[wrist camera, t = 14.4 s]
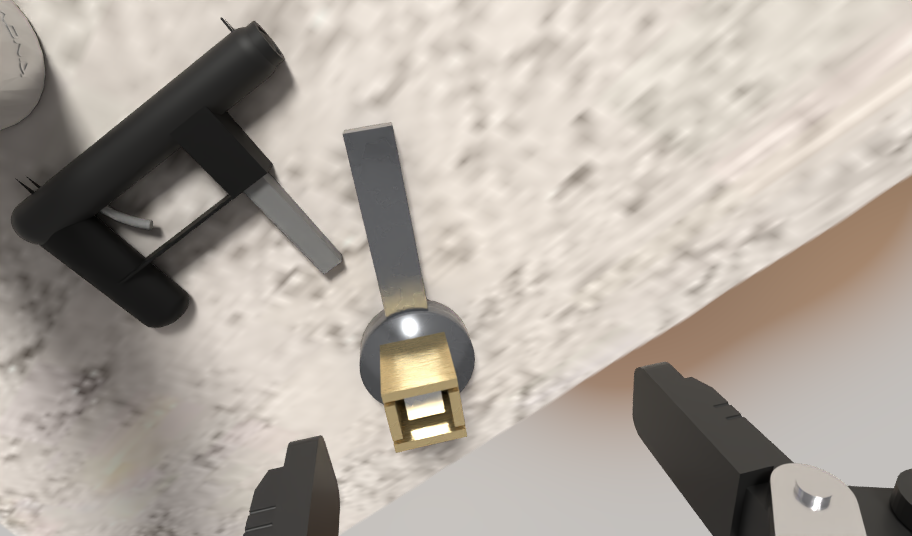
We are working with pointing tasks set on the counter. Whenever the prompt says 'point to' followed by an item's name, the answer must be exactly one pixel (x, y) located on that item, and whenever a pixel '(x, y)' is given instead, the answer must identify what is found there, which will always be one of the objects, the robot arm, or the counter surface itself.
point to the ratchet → (398, 268)
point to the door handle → (143, 148)
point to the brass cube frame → (420, 390)
